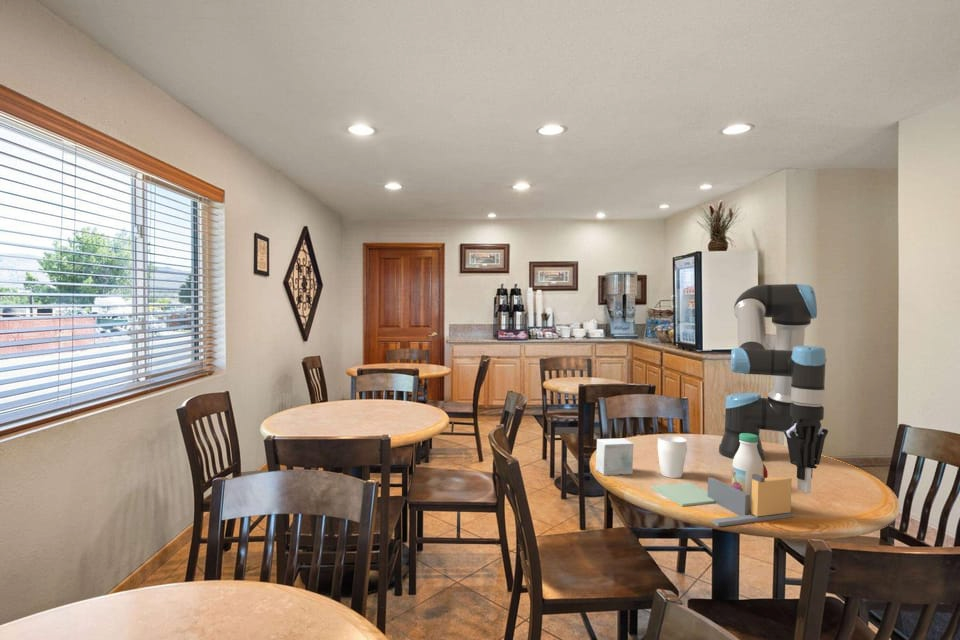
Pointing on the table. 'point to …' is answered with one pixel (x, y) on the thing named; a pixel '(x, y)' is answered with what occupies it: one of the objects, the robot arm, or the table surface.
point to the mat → (684, 494)
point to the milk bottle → (746, 463)
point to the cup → (671, 455)
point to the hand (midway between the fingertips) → (803, 490)
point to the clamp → (735, 504)
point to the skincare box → (614, 456)
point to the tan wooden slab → (770, 495)
